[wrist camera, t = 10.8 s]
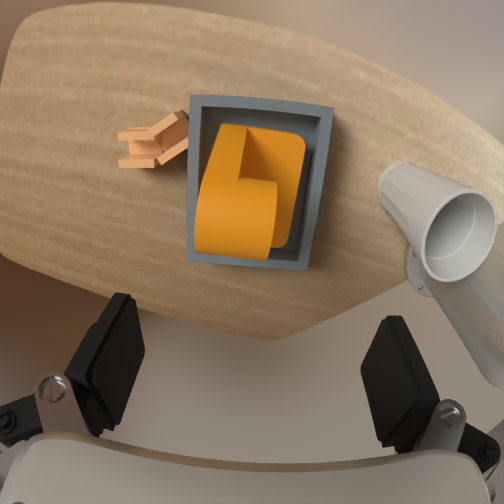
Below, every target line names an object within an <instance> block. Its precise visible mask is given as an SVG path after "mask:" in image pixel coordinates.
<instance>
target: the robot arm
mask: <svg viewBox="0 0 504 504" xmlns="http://www.w3.org/2000/svg"><path fill="white" fill-rule="evenodd" d="M405 272H406V276H407V279H408V281H409V283H410V284H411V286H412V287H413V289H415V291H416V292H418V293H419V294H421V295H423V296H427V297H434V298H435V299H436V301H437V302H438V304H439V305H440V307H441V308H442V310H443V311H444V313H445V314H446V316H447V317H448V319H449V321H450V322H451V324H452V325H453V327H454V328H455V330H456V331H457V333H458V335H459V336H460V338H461V339H462V341H463V343H464V345H465V346H466V348H467V350H468V351H469V353H470V355H471V356H472V358H473V360H474V362H475V363H476V365H477V367H478V368H479V370H480V372H481V373H482V375H483V376H484V378H485V379H486V380H487V381H488V382H489V383H491V384H492V385H494V386H496V387H499V388H503V389H504V256H503V255H502V254H501V253H500V252H498V251H497V250H496V249H495V248H494V247H493V246H492V248H491V250H490V252H489V254H488V256H487V257H486V259H485V260H484V261H483V263H482V264H481V265H480V266H479V267H478V268H477V269H476V270H475V271H474V272H472V273H471V274H470V275H468V276H466V277H464V278H462V279H460V280H457V281H453V282H442V281H438V280H436V279H434V278H433V277H431V276H430V275H429V274H428V272H427V271H426V269H425V268H424V266H423V265H422V263H421V261H420V260H419V258H418V256H417V255H416V253H415V252H414V250H413V248H412V247H411V245H410V244H409V247H408V249H407V253H406V257H405ZM144 354H145V347H144V342H143V338H142V333H141V328H140V322H139V317H138V312H137V306H136V301H135V299H132V298H131V295H130V294H124V293H117V292H116V293H115V294H114V295H113V296H112V298H111V300H110V301H109V303H108V304H107V306H106V308H105V309H104V311H103V313H102V314H101V316H100V317H99V319H98V321H97V322H96V323H94V324H92V325H91V327H90V329H89V330H88V332H87V333H86V335H85V337H84V338H83V340H82V342H81V344H80V345H79V347H78V349H77V351H76V352H75V354H74V356H73V358H72V360H71V361H70V363H69V365H68V367H67V369H66V370H65V372H64V374H63V375H62V374H59V373H50V374H47V375H45V376H43V377H42V378H40V380H39V381H38V382H37V383H36V386H35V389H34V394H32V395H29V396H26V397H24V398H21V399H19V400H16V401H13V402H11V403H8V404H5V405H3V406H0V504H504V419H503V420H502V422H500V423H499V424H498V425H497V426H495V427H494V428H493V429H492V430H491V431H490V432H488V433H487V434H485V433H483V432H482V431H480V430H478V429H476V428H475V427H473V426H471V425H469V424H468V423H466V413H465V411H464V409H463V407H462V406H461V405H460V404H459V403H457V402H456V401H454V400H451V399H445V400H442V401H440V399H439V395H438V392H437V390H436V387H435V385H434V383H433V380H432V378H431V376H430V373H429V371H428V369H427V367H426V364H425V362H424V360H423V358H422V356H421V354H420V352H419V350H418V347H417V345H416V343H415V341H414V339H413V337H412V335H411V333H410V331H409V329H408V327H407V325H406V323H405V321H404V319H403V317H402V316H387V317H386V319H383V320H382V321H381V323H380V325H379V328H378V330H377V332H376V335H375V337H374V339H373V341H372V344H371V346H370V348H369V350H368V352H367V354H366V356H365V358H364V360H363V362H362V365H361V376H362V379H363V383H364V387H365V391H366V394H367V398H368V402H369V406H370V410H371V414H372V418H373V422H374V426H375V431H376V435H377V439H378V440H379V441H381V442H382V447H383V448H385V447H391V446H394V447H395V453H394V455H390V456H383V457H376V458H367V459H359V460H350V461H338V462H323V463H300V464H299V463H297V464H296V463H295V464H294V463H293V464H279V463H250V462H234V461H223V460H214V459H205V458H197V457H190V456H184V455H177V454H172V453H166V452H161V451H156V450H151V449H146V448H141V447H137V446H132V445H128V444H124V443H120V442H116V441H112V440H108V439H103V438H102V437H101V435H100V434H102V433H103V430H104V428H105V429H108V430H111V431H113V430H114V428H115V425H119V424H120V422H121V419H122V416H123V413H124V411H125V408H126V405H127V402H128V399H129V396H130V393H131V390H132V387H133V385H134V382H135V379H136V376H137V374H138V371H139V368H140V366H141V363H142V360H143V358H144Z"/></svg>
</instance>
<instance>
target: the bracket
mask: <svg viewBox="0 0 504 504" xmlns="http://www.w3.org/2000/svg"><path fill="white" fill-rule="evenodd" d="M304 153H305V142H304V140H303V139H302V138H301V137H300V136H299V135H298V134H296V133H294V132H288V131H282V130H276V129H269V128H262V127H255V126H247V125H238V124H229V123H223V124H221V126H220V129H219V132H218V135H217V138H216V141H215V144H214V147H213V150H212V153H211V156H210V159H209V162H208V165H207V168H206V171H205V174H204V177H203V180H202V183H201V187H200V192H199V197H198V202H197V209H196V217H195V230H194V245H195V251H196V252H199V253H207V254H215V255H223V256H230V257H238V258H246V259H255V260H263V261H266V260H267V258H268V255H269V251H270V247H274V248H279V247H282V246H283V245H285V244H286V242H287V240H288V235H289V230H290V225H291V220H292V215H293V210H294V205H295V200H296V195H297V190H298V185H299V180H300V174H301V169H302V164H303V158H304Z"/></svg>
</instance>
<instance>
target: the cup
mask: <svg viewBox="0 0 504 504" xmlns="http://www.w3.org/2000/svg"><path fill="white" fill-rule="evenodd" d="M377 196H378V200H379V203H380V205H381V206H382V207H383V209H384V210H385V211H386V212H387V213H388V214H389V215H390V217H391V218H392V219H393V221H394V222H395V224H396V225H397V226H398V228H399V229H400V231H401V232H402V233H403V235H404V236H405V238H406V239H407V241H408V242H409V244H410V245H411V247H412V248H413V250H414V252H415V253H416V255H417V256H418V258H419V260H420V261H421V263H422V265H423V266H424V268H425V269H426V271H427V272H428V274H429V275H430V276H431V277H433V278H434V279H436V280H438V281H442V282H453V281H457V280H460V279H462V278H464V277H466V276H468V275H470V274H471V273H472V272H474V271H475V270H476V269H477V268H478V267H479V266H480V265H481V264H482V263H483V261H484V260H485V259H486V257H487V256H488V254H489V252H490V250H491V248H492V246H493V243H494V241H495V237H496V233H497V213H496V209H495V206H494V204H493V202H492V200H491V199H490V198H489V196H487V195H486V194H485V193H484V192H482V191H480V190H478V189H475V188H473V187H471V186H468V185H466V184H463V183H461V182H458V181H456V180H454V179H451V178H449V177H446V176H444V175H442V174H439V173H437V172H434V171H431V170H429V169H426V168H424V167H421V166H418V165H416V164H415V163H413V162H410V161H398V162H395V163H393V164H391V165H390V166H388V167H387V168H386V169H385V170H384V172H383V173H382V175H381V176H380V178H379V181H378V185H377Z"/></svg>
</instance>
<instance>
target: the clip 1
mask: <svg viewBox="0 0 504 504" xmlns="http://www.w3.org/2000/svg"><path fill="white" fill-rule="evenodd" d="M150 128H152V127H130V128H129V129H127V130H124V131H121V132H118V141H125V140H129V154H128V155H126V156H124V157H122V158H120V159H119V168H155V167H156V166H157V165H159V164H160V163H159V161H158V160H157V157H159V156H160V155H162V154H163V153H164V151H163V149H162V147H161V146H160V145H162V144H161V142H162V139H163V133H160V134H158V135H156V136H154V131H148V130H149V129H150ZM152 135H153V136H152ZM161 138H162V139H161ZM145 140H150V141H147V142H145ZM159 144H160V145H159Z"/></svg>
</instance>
